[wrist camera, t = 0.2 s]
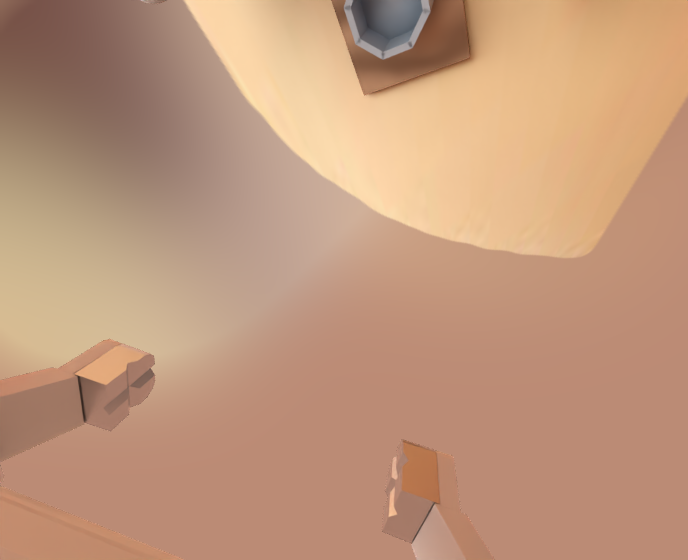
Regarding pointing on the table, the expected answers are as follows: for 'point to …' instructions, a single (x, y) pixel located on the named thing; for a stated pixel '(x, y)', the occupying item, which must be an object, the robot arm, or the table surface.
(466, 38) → the serving board
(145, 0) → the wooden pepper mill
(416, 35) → the utensil crock
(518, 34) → the table surface
